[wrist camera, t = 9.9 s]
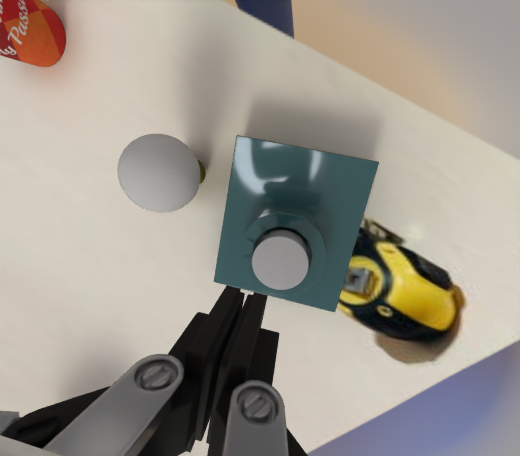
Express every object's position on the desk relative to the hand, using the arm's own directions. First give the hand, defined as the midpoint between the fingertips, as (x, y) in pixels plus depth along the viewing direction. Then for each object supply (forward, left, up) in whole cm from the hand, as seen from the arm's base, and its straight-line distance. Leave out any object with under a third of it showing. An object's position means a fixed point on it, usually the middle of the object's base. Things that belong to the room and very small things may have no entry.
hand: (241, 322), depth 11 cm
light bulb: (-4, -9, -18) cm, 20 cm away
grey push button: (+1, +1, -13) cm, 13 cm away
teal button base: (-1, +1, -17) cm, 17 cm away
